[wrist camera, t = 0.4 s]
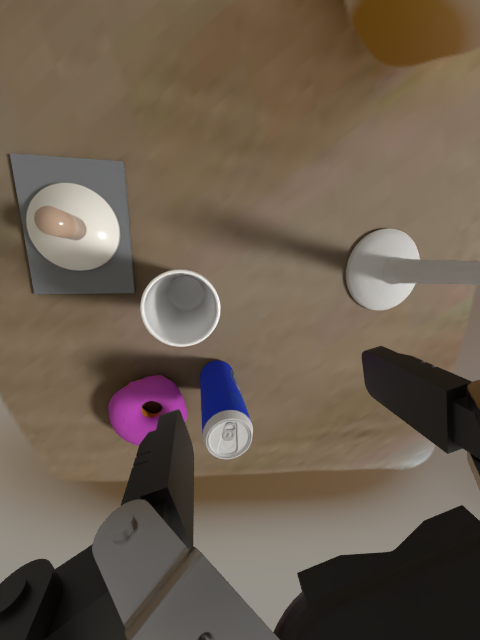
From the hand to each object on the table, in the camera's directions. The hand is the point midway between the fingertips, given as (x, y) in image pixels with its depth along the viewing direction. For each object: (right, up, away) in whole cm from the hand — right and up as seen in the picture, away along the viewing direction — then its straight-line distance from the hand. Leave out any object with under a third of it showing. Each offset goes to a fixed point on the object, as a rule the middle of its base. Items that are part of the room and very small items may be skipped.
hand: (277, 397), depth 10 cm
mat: (-22, +15, +21) cm, 34 cm away
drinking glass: (-9, +7, +25) cm, 28 cm away
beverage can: (-5, -5, +28) cm, 29 cm away
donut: (-15, -9, +28) cm, 33 cm away
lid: (-22, +14, +20) cm, 33 cm away
